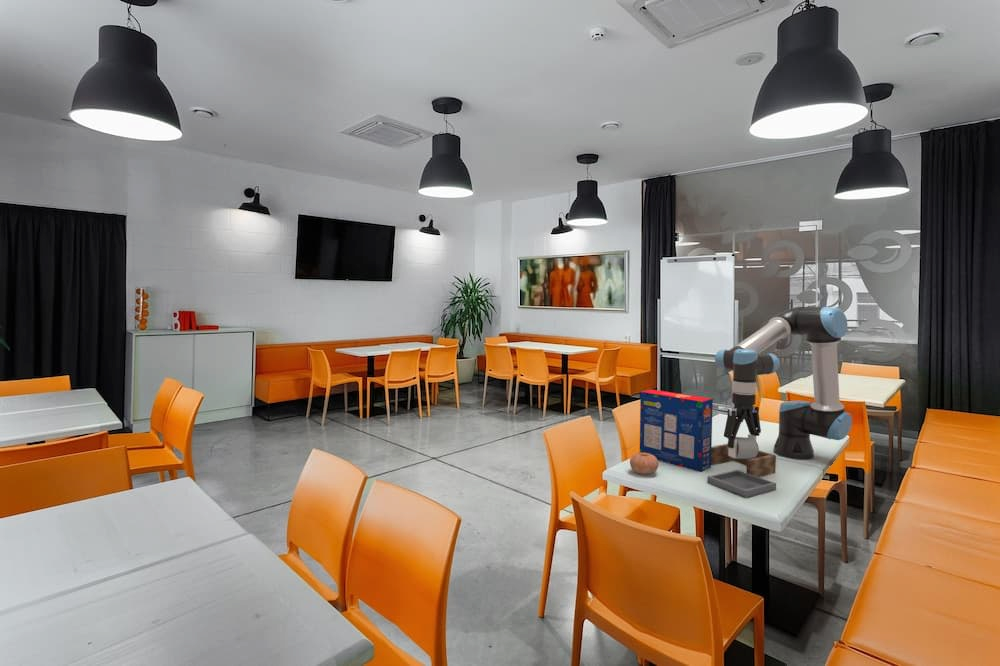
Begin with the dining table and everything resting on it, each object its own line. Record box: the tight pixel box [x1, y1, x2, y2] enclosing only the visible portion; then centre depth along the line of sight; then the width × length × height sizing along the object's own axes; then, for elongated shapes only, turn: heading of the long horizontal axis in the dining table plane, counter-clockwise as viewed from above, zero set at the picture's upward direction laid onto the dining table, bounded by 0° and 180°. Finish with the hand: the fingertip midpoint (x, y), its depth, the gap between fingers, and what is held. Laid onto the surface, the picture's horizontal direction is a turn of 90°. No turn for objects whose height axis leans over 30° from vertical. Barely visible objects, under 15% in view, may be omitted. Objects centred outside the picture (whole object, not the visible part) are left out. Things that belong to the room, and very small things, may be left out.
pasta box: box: [639, 389, 714, 473], centre depth 211 cm, size 28×8×28 cm, turn 40°
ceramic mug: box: [726, 436, 760, 459], centre depth 183 cm, size 11×8×8 cm
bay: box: [711, 443, 777, 478], centre depth 202 cm, size 15×20×7 cm
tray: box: [706, 469, 777, 499], centre depth 183 cm, size 16×16×2 cm
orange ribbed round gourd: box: [629, 452, 659, 476], centre depth 198 cm, size 11×11×8 cm
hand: (741, 454), depth 182 cm, fingers closed on ceramic mug, 9 cm apart
